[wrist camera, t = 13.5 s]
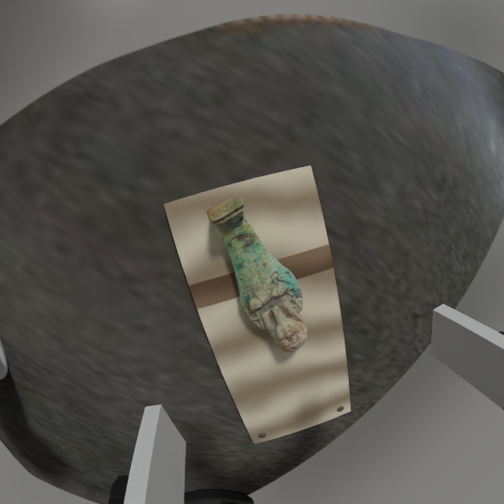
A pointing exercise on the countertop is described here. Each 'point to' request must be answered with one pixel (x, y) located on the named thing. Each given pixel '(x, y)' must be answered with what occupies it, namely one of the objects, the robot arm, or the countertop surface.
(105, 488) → the countertop surface
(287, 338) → the figurine
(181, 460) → the robot arm
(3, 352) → the bust with hat
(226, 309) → the board
